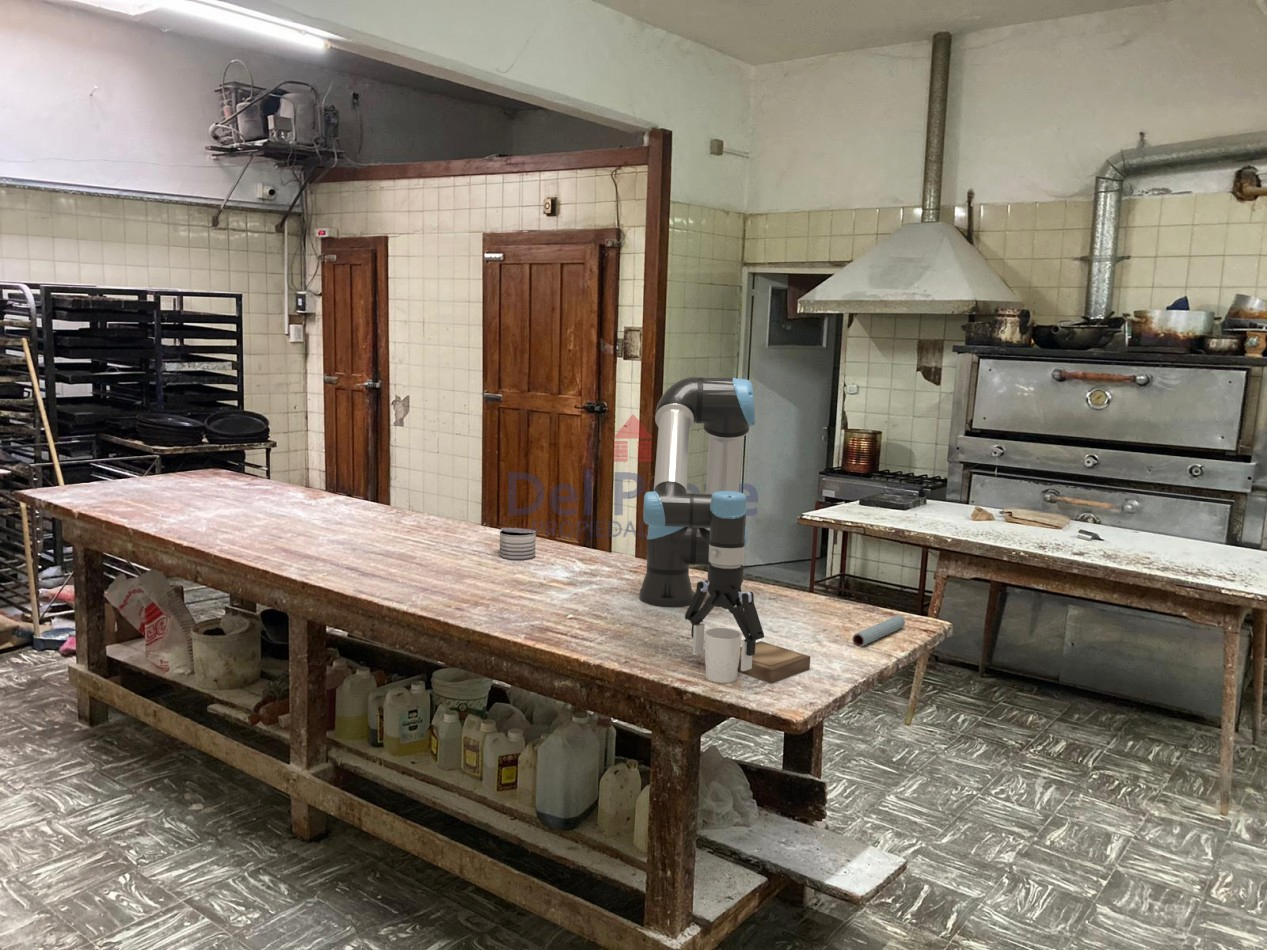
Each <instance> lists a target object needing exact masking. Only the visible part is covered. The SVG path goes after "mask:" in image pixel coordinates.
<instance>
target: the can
mask: <svg viewBox="0 0 1267 950" xmlns="http://www.w3.org/2000/svg"><path fill="white" fill-rule="evenodd" d="M498 530H500V531H499V557H500V558H502V560H507V561H517V562H518V561H519V562H524V561H529V560H533V559H535V558H536V548H537V547H536V546H537V544H536V542H537V541H536V538H537V537H536V533H537V530H534V529H530V528H520V527H519V528H518V527H503V528H500V529H498Z"/></svg>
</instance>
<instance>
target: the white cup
mask: <svg viewBox="0 0 1267 950" xmlns="http://www.w3.org/2000/svg"><path fill="white" fill-rule="evenodd" d="M742 635H743V633H742V632H741V631H739V630H737V629H733V628H727V627H713V628H709V629H707V630H704V664H705V678H706V679H707V680H709V681H711V682H714V683H718V684H729V683H733V682H735V681H737V678H738V671H737V670H738V666H739V656H740V647H742Z"/></svg>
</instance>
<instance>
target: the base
mask: <svg viewBox="0 0 1267 950" xmlns="http://www.w3.org/2000/svg"><path fill="white" fill-rule="evenodd" d="M741 655H742V646H741V647H740V656H739V666H738V670H737V673H738V672H739V673H741V674H743V675H746V676H749V677H750V678H751V677H752V678H754V679H756V680H760V681H763V682H766V683H768V684H774V683H777V682H779V681H781V680H784V679H788V678H789V677H793V676H795V675H798V674H801V673H803V672H807V671H808V670H810V668H811V655H808V654H804V653H801V652H798V651H794V650H791V649H787V648H785V647H781V646H778V645H775V644H772V643H768V642H765V641H764V640H759V641H756V643H755V654H754V655H752V669H749V670H746V671H741Z"/></svg>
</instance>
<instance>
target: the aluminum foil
mask: <svg viewBox="0 0 1267 950" xmlns="http://www.w3.org/2000/svg"><path fill="white" fill-rule="evenodd" d="M905 624H906V621H905V618H904V617H903V616H901V615H895V616H893V617H891V618H888V619H886V620H883V621H880V622H879V623H876V624H874V625H872V626H870V627H867V628H866V629H863V630H861V631H859V632H857V633H854V634H853V635H852V637H851V638H852V640H851V641H852V643H853V645H854V646H855V645H856V647H860V648H862V647H865V646H866V645H868V643H869V644H870V642H871V643H873V642H875V641H877V640H879V638H880V639H882V638H884V637H885V635H886V636H888V635H891V634H893V633H895V632H898V631H899V630H902V629H903V628H904V627H905ZM894 631H895V632H894ZM892 632H893V633H892ZM890 633H891V634H890ZM883 636H884V637H883ZM881 637H882V638H881Z"/></svg>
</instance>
